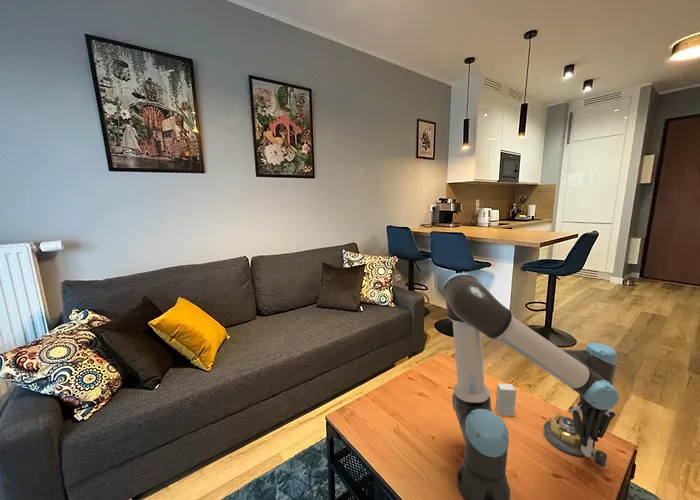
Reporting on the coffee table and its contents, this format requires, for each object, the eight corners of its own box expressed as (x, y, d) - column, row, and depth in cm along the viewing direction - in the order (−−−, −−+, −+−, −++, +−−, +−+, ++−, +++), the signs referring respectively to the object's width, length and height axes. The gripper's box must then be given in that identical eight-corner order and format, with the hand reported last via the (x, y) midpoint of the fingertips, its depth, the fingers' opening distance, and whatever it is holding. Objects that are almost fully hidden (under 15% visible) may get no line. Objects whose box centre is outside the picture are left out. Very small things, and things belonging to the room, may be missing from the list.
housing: (584, 464, 101) (587, 444, 99) (536, 436, 113) (537, 418, 111) (599, 442, 109) (602, 424, 108) (553, 418, 121) (555, 401, 120)
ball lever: (618, 465, 98) (620, 453, 97) (589, 469, 96) (590, 458, 96) (568, 421, 116) (570, 412, 116) (543, 424, 115) (544, 415, 114)
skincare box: (510, 409, 127) (512, 383, 125) (514, 416, 123) (516, 390, 121) (495, 408, 128) (496, 383, 125) (498, 415, 123) (500, 389, 121)
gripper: (607, 384, 100) (597, 445, 104) (566, 382, 101) (558, 443, 105) (626, 399, 93) (614, 464, 97) (582, 397, 94) (572, 462, 98)
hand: (585, 453), depth 101 cm, fingers closed
